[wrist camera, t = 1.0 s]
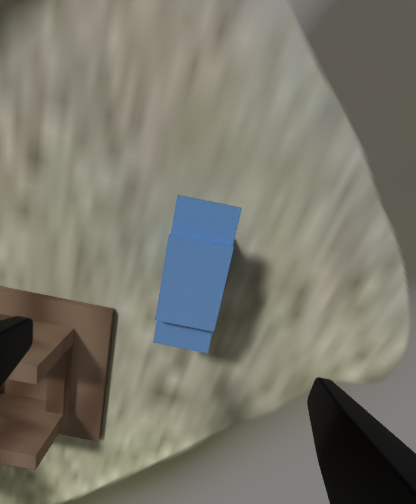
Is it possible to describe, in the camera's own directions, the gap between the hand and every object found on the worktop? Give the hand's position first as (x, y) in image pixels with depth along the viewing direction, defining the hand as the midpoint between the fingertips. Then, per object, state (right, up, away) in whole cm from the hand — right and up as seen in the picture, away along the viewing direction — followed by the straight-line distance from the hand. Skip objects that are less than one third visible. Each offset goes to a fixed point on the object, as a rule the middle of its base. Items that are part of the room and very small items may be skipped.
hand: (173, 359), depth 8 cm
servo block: (+1, +3, +12) cm, 12 cm away
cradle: (-15, -7, +15) cm, 22 cm away
